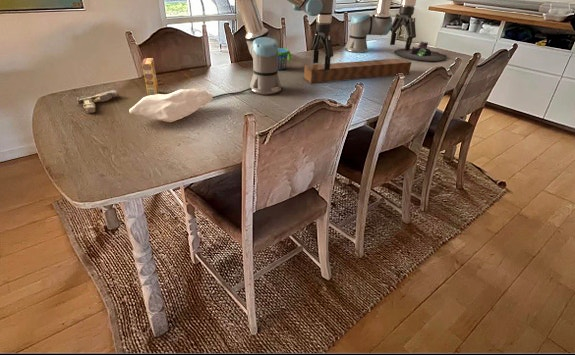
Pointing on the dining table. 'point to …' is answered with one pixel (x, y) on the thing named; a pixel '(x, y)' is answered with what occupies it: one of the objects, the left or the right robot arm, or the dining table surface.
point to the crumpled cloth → (171, 104)
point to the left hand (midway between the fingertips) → (321, 66)
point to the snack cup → (283, 58)
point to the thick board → (356, 70)
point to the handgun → (95, 100)
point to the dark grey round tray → (420, 53)
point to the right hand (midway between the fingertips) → (399, 47)
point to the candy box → (150, 76)
